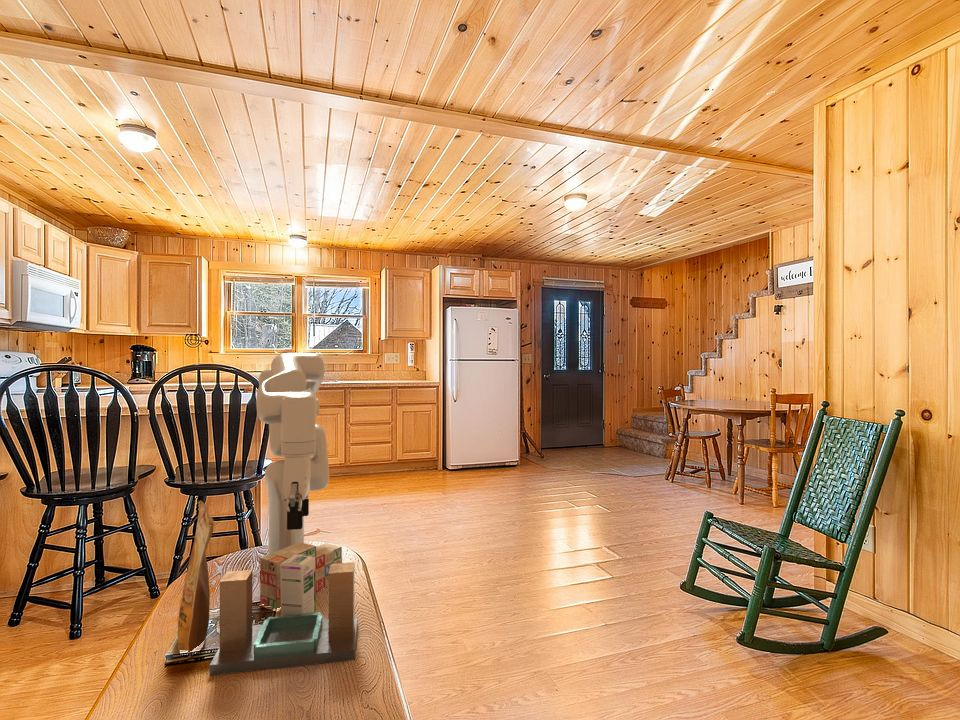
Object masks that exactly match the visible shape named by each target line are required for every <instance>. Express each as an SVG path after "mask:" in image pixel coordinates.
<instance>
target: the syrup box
mask: <svg viewBox="0 0 960 720" xmlns="http://www.w3.org/2000/svg"><path fill="white" fill-rule="evenodd" d="M280 587H281V610H280V616H285V615H296V614H307V613H317V595H316V593H317V592H316V578H315V556H312V555H305V554H294V555H293V556H292V557H291V558H289V559H287V560H286V561H284V562H283V563H281V564H280Z"/></svg>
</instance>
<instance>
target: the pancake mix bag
mask: <svg viewBox="0 0 960 720" xmlns="http://www.w3.org/2000/svg"><path fill="white" fill-rule="evenodd" d="M197 503H198V516H197V522H196V527H195V528H196V530H195V535H194V540H193V544H192V549H191V553H190V557H189V561H188V566H187V571H186V576H185V579H184V585H183V588H182V595H181V599H180V605H179V612H178V619H177V621H178V622H177V649H179V650H188V652H190V651H192V650H193V649H194V648H196V647H197V646H199V645H200V644H201V643H202V642H203V641H204V640H205V639H206V638H207V635H208V634H207V633H208V630H209V623H210V602H211V601H210V600H211V599H210V598H211V593H210V592H211V591H210V579H209V578H210V576H209V567H208V562H207V549H208V546H209V543H210V540H211V538H212V536H213V534H214V525H215V523H214V519H213V518H212V517H211V515H210V514H209V511H208V506H207V505H206V503H204V502H203V501H202V500H199V501H197ZM206 640H207V639H206ZM206 640H205V641H206ZM179 650H178V651H179Z"/></svg>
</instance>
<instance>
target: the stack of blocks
mask: <svg viewBox="0 0 960 720" xmlns="http://www.w3.org/2000/svg"><path fill="white" fill-rule="evenodd" d="M294 554H305V555H312V556H315V578H316V593H318V592H321V591H322V590H324V589H326V588H329V570H330V565H331V564H337V563H343V546H341V545H337V544H332V543H328V542H324V543H322V544H319V545H317V546H316V545H313V544H311V543H310V544H308V543H305V542H304V543H302V542H299V543H297V544H294V545H292V546H289V547H286V548H284V549H282V550H279V551H276V552H274V553H272V554H269V553H268V554H266V555H263V556H261V557H259V561H260V563H259V564H260V565H259V584H260V587H259V589H260V591H259V592H260V593H259V594H260V595H259V599H260V600H259V603H260V604H264V605H267V606H272V607H273V608H276V609H277V608H280V607H281V587H280V564H281V563H283V562H284V561H286V560H287V559H289V558H291V557H292V556H293V555H294ZM323 588H324V589H323ZM321 589H322V590H321ZM260 604H259V605H260Z"/></svg>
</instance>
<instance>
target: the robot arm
mask: <svg viewBox="0 0 960 720" xmlns="http://www.w3.org/2000/svg"><path fill="white" fill-rule="evenodd" d="M325 369H326V368H325V363H324V360H323V358H322V356H320V355H319V354H317V353H307V352H306V353H305V352H287V353H286V352H285V353H281V354H278V355H277V356H275V357H274V358H273V360H271V363H270V368H266V369H265V370H264V369H263V371H261V372H260V374H259V377H258V386H259V387H258V389H257V393H256V398H255V400H256V401H255V402H256V414H257V417H258V419H259V421H260V422H261V423H263V424H267V425H268V430H269V431H268V434H269V436H268V437H269V448H270V451H271V455H273V456H274V457H276V458H277V457H278V458H284V459H279V460H275V461H274V462H271V463H270V464H269V465H267V467H266V468H265V473H264V477H265V479H264V480H265V484H266V491H267V492H266V493H267V504H268V505H267V506H268V554H272V553H274V552H276V551H279V550H282V549H284V548H286V547H289V546H292V545H294V544H297V543H299V542H302V543H305V541H304V540H305V531H304V530H305V526H304V525H305V523H304V522H305V517H307V516H309V514H310V512H309V511H310V503H309V501H310V499H309V493H310V492H312V491H313V492H314V491H319V490H323V489H325V488H327V486H328V485H329V483H330V465H329V464H330V463H329V454H328V443H327V436H326V435H327V434H326V432H325V429H324V428H323V427H322V425H320V424H317V423H316V418H317V416H318V415H319V414H320V408H321V407H320V399H319V398H318V397H317V396H316V394H317V392H319V390H320V387H321V385H322V383H323V380H324V377H325Z"/></svg>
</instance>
